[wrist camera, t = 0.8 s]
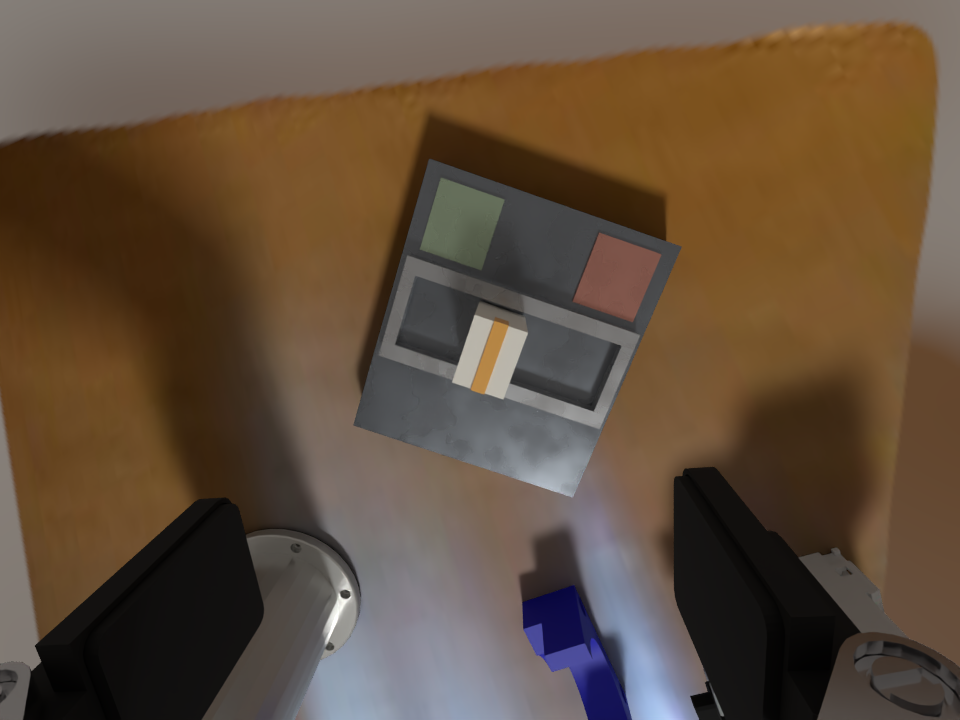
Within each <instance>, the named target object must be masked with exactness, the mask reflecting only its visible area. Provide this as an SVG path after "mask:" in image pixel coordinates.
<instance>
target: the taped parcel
mask: <svg viewBox="0 0 960 720" xmlns="http://www.w3.org/2000/svg"><path fill="white" fill-rule="evenodd" d="M527 334H528V330H527V325H526V319H525V316H523V315H520V314H517V313H514V312H511V311H508V310H506V309H503V308H500V307H497V306H494V305H491V304H488V303H485V302H482V301H479V304H478V307H477V310H476V312H475V315H474V318H473V321H472V324H471V327H470V330H469V333H468V336H467V339H466V342H465V345H464V348H463V351H462V354H461V357H460V360H459V363H458V366H457V369H456V372H455V375H454V378H453V381H452V383H455V384H458V385H461V386H464V387H467V388H470V389H471V390H472V391H475V392H478V393H481V394H488V395H491V396H494V397H497V398H500V399H504V397H505V394H506V391H507V388H508V386H509V383H510V380H511V378H512V375H513V372H514V369H515V367H516V364H517V361H518V359H519V356H520V353H521V350H522V348H523V345H524V342H525V340H526V337H527Z"/></svg>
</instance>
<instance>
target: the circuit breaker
mask: <svg viewBox="0 0 960 720" xmlns="http://www.w3.org/2000/svg"><path fill="white" fill-rule="evenodd" d="M831 552H832V553H830V554H826V555H821V554H820V553H819V552H817V553H813V554H810V555H806V556H802V557H798V558H799V559H800V560H801V561H802V563H803V564H804V565H805V566H806V567H807V568H808V570H809V571H810V572H811V573H812V574H813V576H814V577H815V578H816V579H817V580H818V582H819V583H820V584H821V585H822V586H823V588H824V589H825V590H826V591H827V592H828V593H829V595H830V596H831V597H832V598H833V599H834V601H835V602H836V603H837V604H838V605H839V607H840V608H841V609H842V610H843V611H844V612H845V614H846V615H847V616H848V617H849V618H850V620H851V621H852V622H853V623H854V624H855V626H856V627H857V628H858V629H859V630H860V632H861V633H867V632H879V633H887V634H894V635H897V636H901V637H904V638H907V639H909V638H908V637H907V636H906V635H905V634H904V633H903V632H902V631H901V630H900V629H899V627H897V625H896V624H895V623H894V622H893V621H892V620H891V619H890V618H889V617H888V616H887V615H886V614H885V613H884V609H883V605H882V600H881V595H880V590H879V589H878V588H877V587H876V586H875V585H874V584H873V583H872V582H871V581H870V580H869V579H868V578H867V577H866V576H865V575H864V574H863V573H862V572H861V571H860V570H859V569H858V568H857V567H856V566H855V565H854V564H853V563H852V562H851V561H847V560H846V559H845V558H844V557H843V556H842V555H841V553H840V550H839V549H838V548H837V547H836V548H833V549H831ZM846 570H849V572H850V573H851V575H850V574H849V573H848V572H847V571H846ZM703 668H704V667H703ZM704 672H705V670H704ZM705 675H706V679H707V682H705V684H706V687H707V691H708V692H706V693H702V694H697V695H693V696H690V697H691V700H692V703H693V706H694V708H695V710H696V713H697V715H698V717H699V720H726V719H725V717H724V714H723V712H722V710H721V707H720V705H719V703H718V700H717V698H716V696H715V693H714V691H713V689H712V686H711V684H710V681H709V679H708V677H707V674H706V672H705Z"/></svg>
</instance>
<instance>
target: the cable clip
mask: <svg viewBox="0 0 960 720" xmlns="http://www.w3.org/2000/svg"><path fill="white" fill-rule="evenodd" d="M522 606H523V629H524V631H525V633H526V635H527V637H528V639H529V641H530V643H531V645H532V647H533V649H534V651H535V653H536V655H539V656H541V657H542V658H543V659H544V660H545V661H546V663H547V664H548V666H549V668H550V669H551V671H552V672H554V671H557V670H560V669H564V668H567V667H569V668H570V670H571V672H572V674H573V677H574V679H575V682H576V684H577V687H578V690H579V692H580V695H581V698H582V701H583V704H584V707H585V710H586V714H587V717H588V720H632V718H631V714H630V710H629V706H628V702H627V698H626V695H625V693H624V691H623V689H622V686H621V684H620V682H619V680H618V678H617V676H616V674H615V671H614V669H613V667H612V665H611V663H610V661H609V659H608V656H607V654H606V652H605V650H604V648H603V646H602V644H601V641H600V639H599V637H598V635H597V633H596V631H595V629H594V626H593V624H592V622H591V620H590V618H589V616H588V614H587V612H586V609H585V607H584V605H583V603H582V601H581V599H580V597H579V594H578V592H577V590H576V588H575V586H574V585H572V586H569V587H567V588H564V589H561V590H558V591H555V592H552V593H549V594H546V595H543V596H540V597H537V598H534V599H531V600H528V601H525V602H522Z"/></svg>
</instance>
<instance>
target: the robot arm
mask: <svg viewBox="0 0 960 720" xmlns="http://www.w3.org/2000/svg"><path fill="white" fill-rule="evenodd" d="M674 592H675V598H676V602H677V606H678V608H679V611H680V613H681V616H682V618H683V620H684V623H685V625H686V627H687V630H688V632H689V634H690V637H691V639H692V641H693V644H694V646H695V649H696V651H697V653H698V656H699V658H700V660H701V663H702V665H703V667H704V670H705V672H706V674H707V677H708V679H709V681H710V684H711V686H712V689H713V691H714V693H715V696H716V698H717V700H718V703H719V705H720V707H721V710H722V712H723V714H724V717H725V719H726V720H960V667H959V666H958V665H956V664H955V663H954V662H953V661H951V660H949V659H948V658H946V657H945V656H943V655H942V654H940V653H939V652H937V651H935V650H933V649H931V648H929V647H927V646H925V645H923V644H920V643H918V642H916V641H914V640H911V639H907V638H904V637H901V636H897V635H894V634H887V633H879V632H867V633H861V632H860V630H859V629H858V628H857V627H856V626H855V624H854V623H853V622H852V621H851V620H850V618H849V617H848V616H847V615H846V614H845V612H844V611H843V610H842V609H841V608H840V607H839V605H838V604H837V603H836V602H835V601H834V599H833V598H832V597H831V596H830V595H829V593H828V592H827V591H826V590H825V589H824V588H823V586H822V585H821V584H820V583H819V582H818V580H817V579H816V578H815V577H814V576H813V574H812V573H811V572H810V571H809V570H808V568H807V567H806V566H805V565H804V564H803V563H802V561H801V560H800V559H799V558H798V557H797V555H796V554H795V553H794V552H793V551H792V549H791V548H790V547H789V546H788V545H787V543H786V542H785V541H784V540H783V539H782V538H781V537H780V536H779V535H778V534H777V533H776V532H773V531H767V530H766V529H765V528H764V527H763V526H762V524H761V523H760V522H759V521H758V519H757V518H756V517H755V516H754V514H753V513H752V512H751V511H750V510H749V508H748V507H747V506H746V505H745V503H744V502H743V501H742V500H741V498H740V497H739V496H738V495H737V494H736V492H735V491H734V490H733V489H732V487H731V486H730V485H729V484H728V482H727V481H726V480H725V479H724V477H723V476H722V475H721V474H720V473H719V471H718V470H717V469H716V468H715V467H705V468H689V469H685V470H684V471H683V476H676V477H675V479H674ZM360 604H361V599H360V592H359V587H358V584H357V581H356V579H355V576H354V574H353V573H352V571H351V569H350V568H349V566H348V565H347V563H346V562H345V561H344V560H343V559H342V558H341V557H340V555H339V554H338V553H336V552H335V551H334V550H333V549H331V548H330V547H329V546H328V545H326V544H325V543H323V542H321V541H319V540H317V539H316V538H314V537H311V536H309V535H306V534H303V533H300V532H296V531H291V530H286V529H266V530H259V531H254V532H252V533H249V534H245V531H244V527H243V523H242V519H241V515H240V511H239V509H238V507H237V505H235V504H232V503H231V501H230V500H229V499H227V498H210V499H199V500H197V501H195V502H194V503H193V504H192V505H191V506H190V507H189V508H187V509H186V510H185V511H184V512H183V513H182V514H181V515H180V516H179V517H177V518H176V519H175V520H174V521H173V522H172V523H171V524H170V525H169V526H167V527H166V528H165V529H164V530H163V531H162V532H161V533H160V534H159V535H157V536H156V537H155V538H154V539H153V540H152V541H151V542H150V543H149V544H147V545H146V546H145V547H144V548H143V549H142V550H141V551H140V552H139V553H137V554H136V555H135V556H134V557H133V558H132V559H131V560H130V561H128V562H127V563H126V564H125V565H124V566H123V567H122V568H121V569H120V570H118V571H117V572H116V573H115V574H114V575H113V576H112V577H111V578H110V579H108V580H107V581H106V582H105V583H104V584H103V585H102V586H101V587H100V588H98V589H97V590H96V591H95V592H94V593H93V594H92V595H91V596H90V597H88V598H87V599H86V600H85V601H84V602H83V603H82V604H81V605H80V606H78V607H77V608H76V609H75V610H74V611H73V612H72V613H71V614H70V615H68V616H67V617H66V618H65V619H64V620H63V621H62V622H61V623H59V624H58V625H57V626H56V627H55V628H54V629H53V630H52V631H51V632H49V633H48V634H47V635H46V636H45V637H44V638H43V639H42V640H41V641H39V642H38V643H37V644H36V645H35V647H36V650H37V652H38V655H39V657H40V659H41V663H40V664H39V665H38V666H37V667H36V668H35V669H34V670H33V671H31V669H30V667H29V666H28V665H26V664H25V663H23V662H7V663H2V664H0V720H295V717H296V715H297V713H298V710H299V708H300V706H301V703H302V701H303V699H304V696H305V694H306V692H307V689H308V687H309V685H310V682H311V680H312V678H313V676H314V673H315V671H316V669H317V666H318V664H319V662H320V660H322V659H324V658H326V657H328V656H330V655H332V654H334V653H335V652H336V651H337V650H339V649H340V648H341V647H342V646H343V645H344V644H345V643H346V642H347V640H348V639H349V638H350V636H351V634H352V632H353V630H354V628H355V626H356V623H357V619H358V616H359V613H360Z"/></svg>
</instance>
